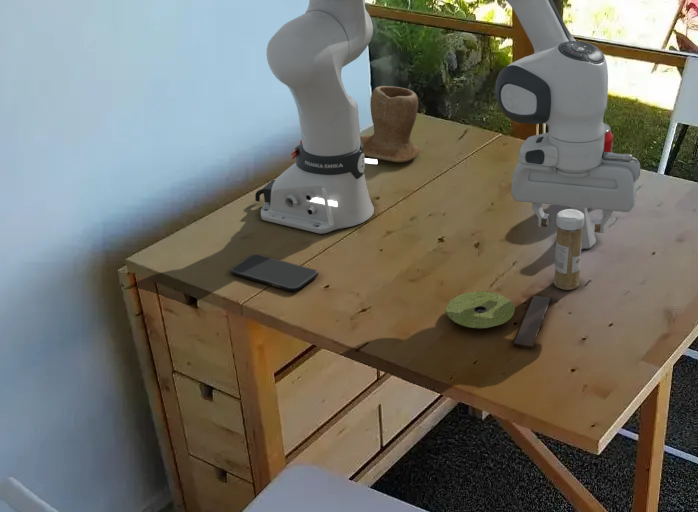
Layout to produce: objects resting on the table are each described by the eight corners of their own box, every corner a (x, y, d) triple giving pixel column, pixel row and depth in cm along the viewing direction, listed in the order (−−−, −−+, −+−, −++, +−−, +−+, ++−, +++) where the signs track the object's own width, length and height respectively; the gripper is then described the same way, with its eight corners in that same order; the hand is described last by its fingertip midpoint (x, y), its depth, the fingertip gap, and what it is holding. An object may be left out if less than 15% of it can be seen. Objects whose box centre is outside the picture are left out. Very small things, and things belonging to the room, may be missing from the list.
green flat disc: (501, 343, 148) (501, 332, 147) (436, 329, 152) (435, 319, 151) (523, 307, 157) (523, 297, 156) (460, 296, 160) (460, 286, 159)
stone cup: (430, 151, 211) (428, 85, 202) (402, 170, 203) (399, 103, 194) (374, 139, 217) (370, 75, 208) (345, 157, 209) (339, 91, 200)
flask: (594, 252, 172) (598, 202, 166) (555, 249, 173) (558, 199, 167) (597, 234, 178) (601, 185, 172) (559, 231, 179) (562, 182, 173)
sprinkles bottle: (583, 289, 161) (588, 218, 153) (557, 292, 161) (561, 221, 153) (574, 276, 165) (579, 206, 157) (549, 279, 164) (553, 209, 156)
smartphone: (254, 252, 172) (320, 270, 166) (255, 257, 173) (321, 275, 166) (227, 270, 167) (294, 289, 161) (228, 274, 167) (295, 294, 161)
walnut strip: (513, 346, 148) (513, 343, 147) (533, 298, 159) (533, 295, 159) (532, 349, 147) (532, 345, 147) (551, 300, 158) (551, 297, 158)
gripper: (644, 147, 148) (636, 226, 156) (518, 137, 153) (516, 214, 161) (639, 163, 143) (631, 243, 151) (509, 151, 148) (508, 230, 156)
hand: (571, 228), depth 156 cm, fingers open, 8 cm apart
